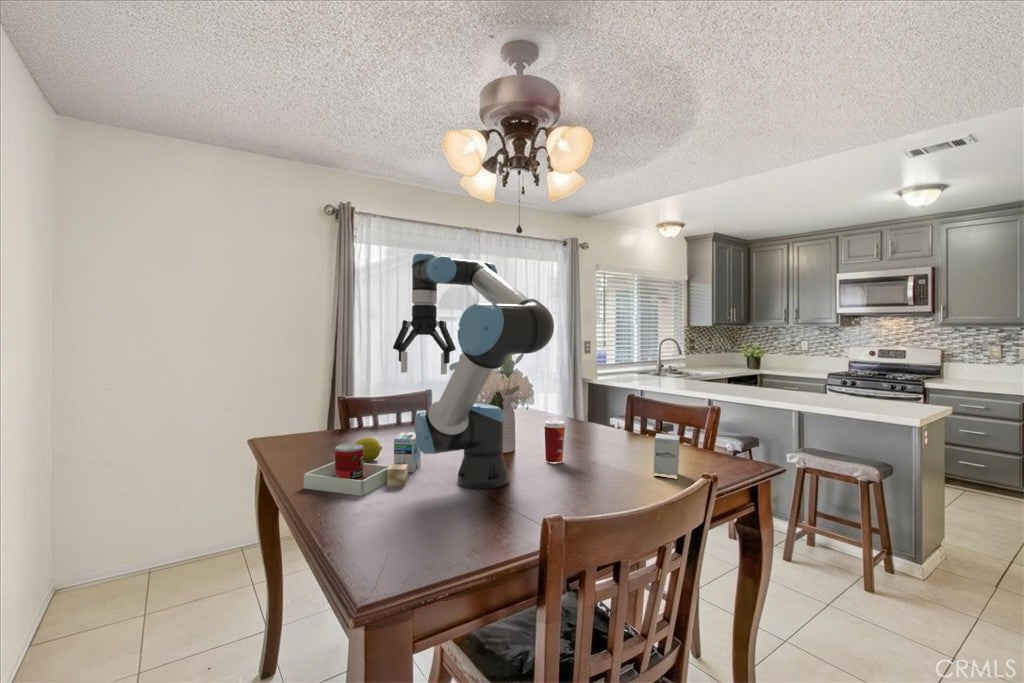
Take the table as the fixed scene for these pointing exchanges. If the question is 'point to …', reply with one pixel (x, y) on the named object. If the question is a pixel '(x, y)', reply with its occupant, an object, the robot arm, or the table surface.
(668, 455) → the supplement box
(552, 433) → the paper cup
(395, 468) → the maple block
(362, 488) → the box
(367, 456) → the lemon
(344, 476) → the canned food
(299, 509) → the table surface
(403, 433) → the light bulb box
